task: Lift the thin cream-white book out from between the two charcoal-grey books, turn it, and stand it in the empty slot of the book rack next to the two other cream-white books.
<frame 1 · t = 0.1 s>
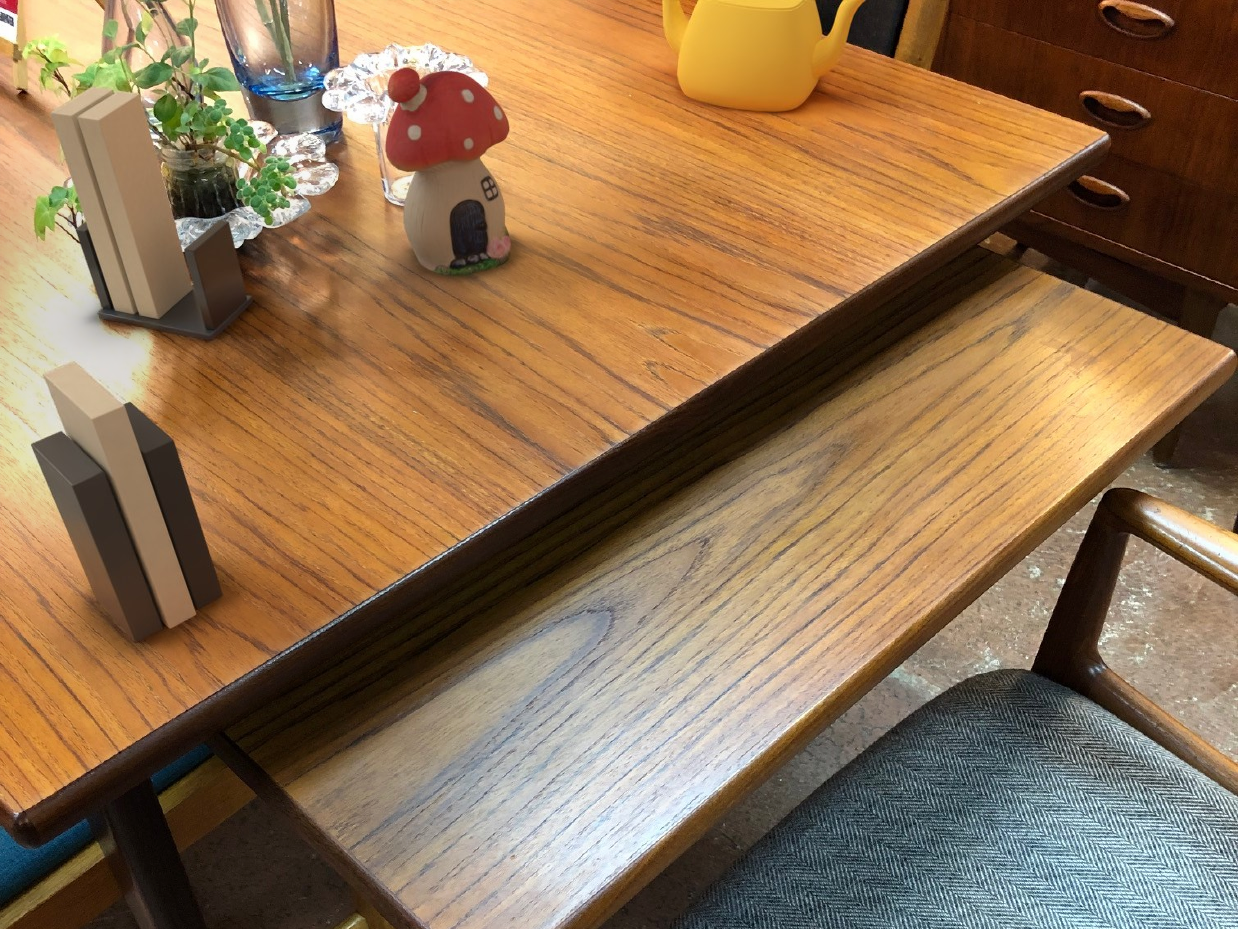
shelved white books: (178, 316, 86), resting on book rack
decorative ornament: (461, 263, 92), on the table
grey books: (162, 604, 65), on the table
book rack: (178, 316, 86), on the table
white book: (162, 604, 65), on the table
teapot: (752, 87, 117), on the table
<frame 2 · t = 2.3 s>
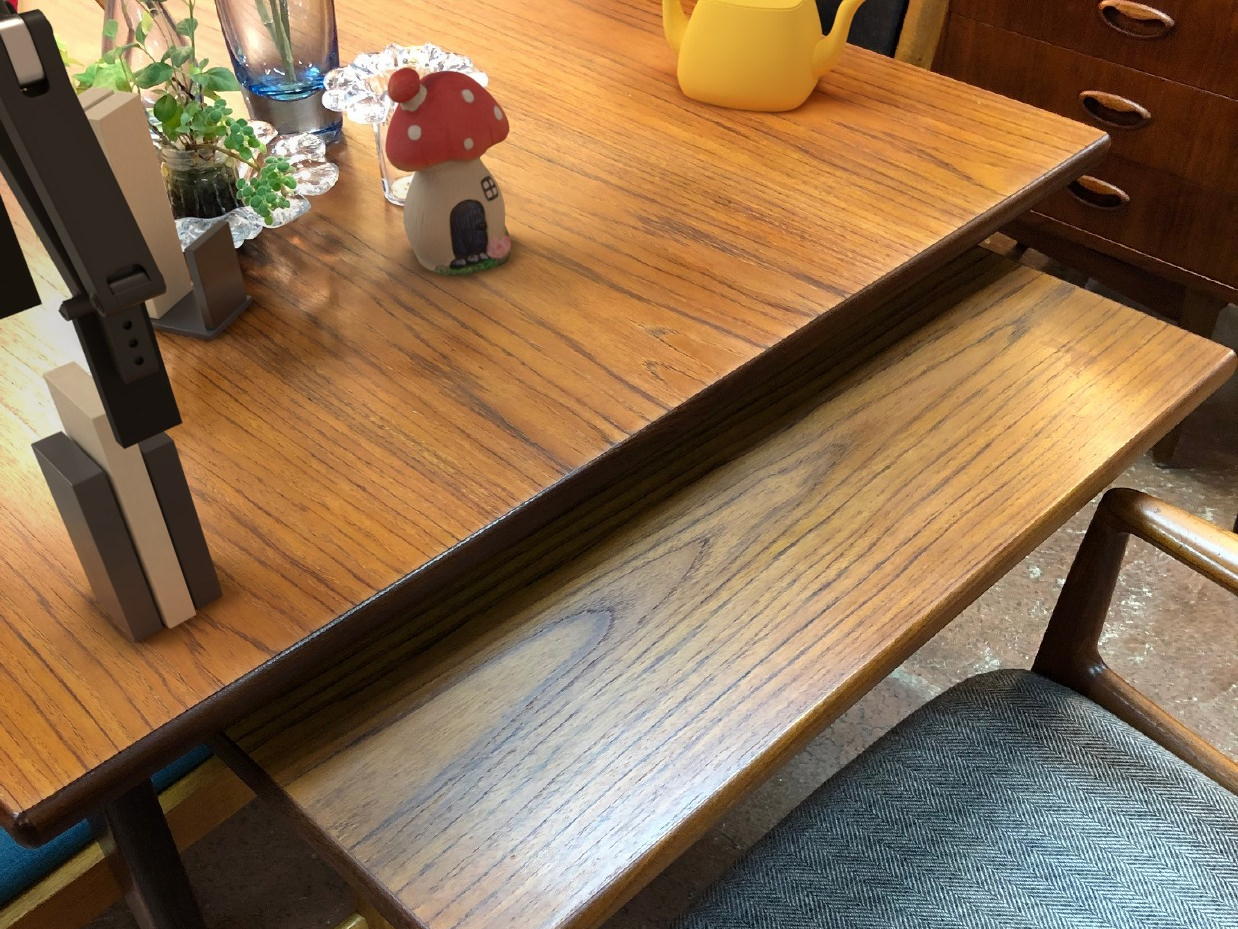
hand: (76, 368, 54), 15 cm above the table, tool pointing down, fingers open, 13 cm apart
nothing on the table moved.
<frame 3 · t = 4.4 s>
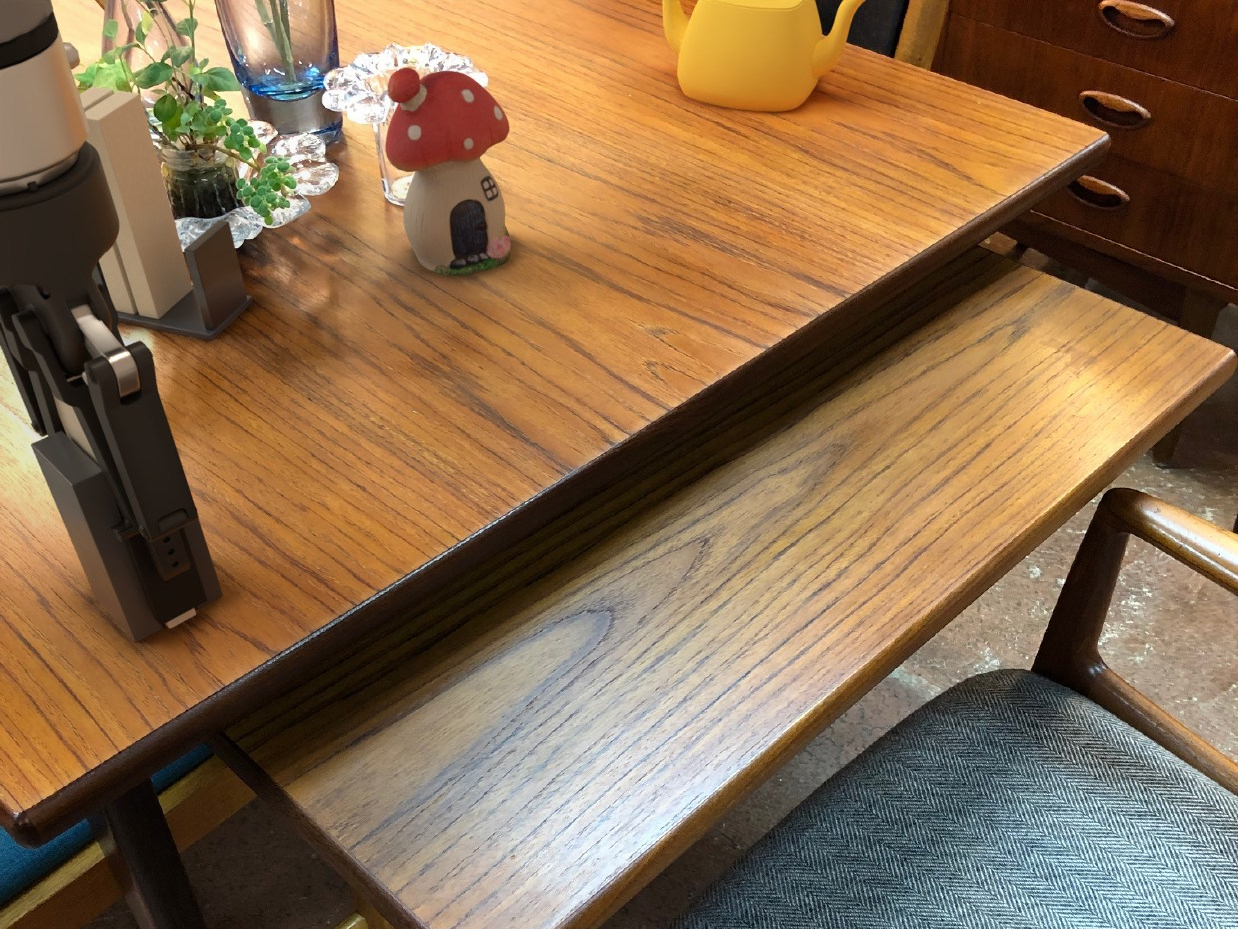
hand: (154, 581, 64), 2 cm above the table, tool pointing down, fingers closed on white book, 5 cm apart
white book: (162, 604, 65), on the table, touching gripper
everything else where it was.
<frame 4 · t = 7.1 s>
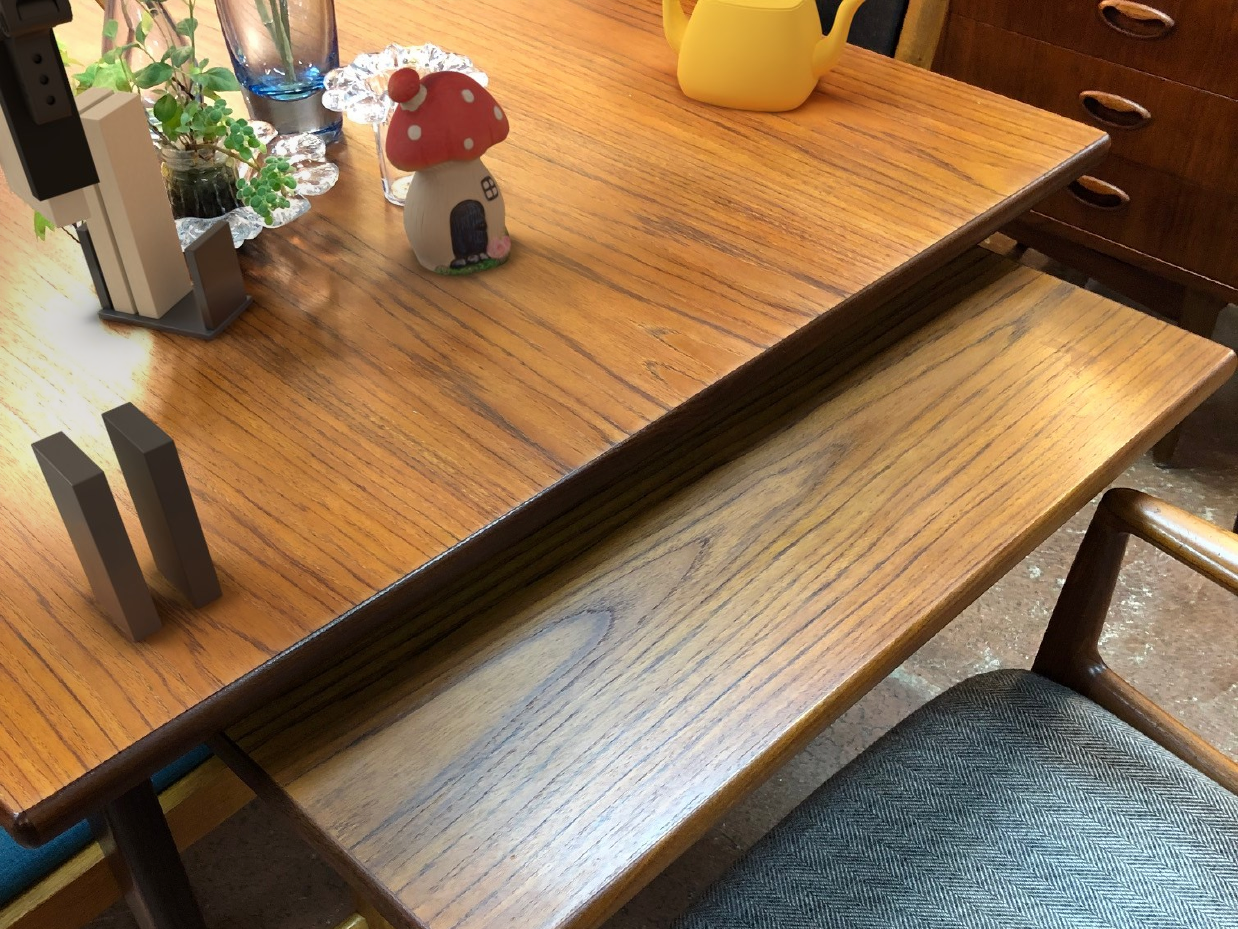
hand: (37, 165, 53), 22 cm above the table, tool pointing down, fingers closed on white book, 5 cm apart
white book: (50, 203, 54), point 21 cm above the table, touching gripper
everything else where it was.
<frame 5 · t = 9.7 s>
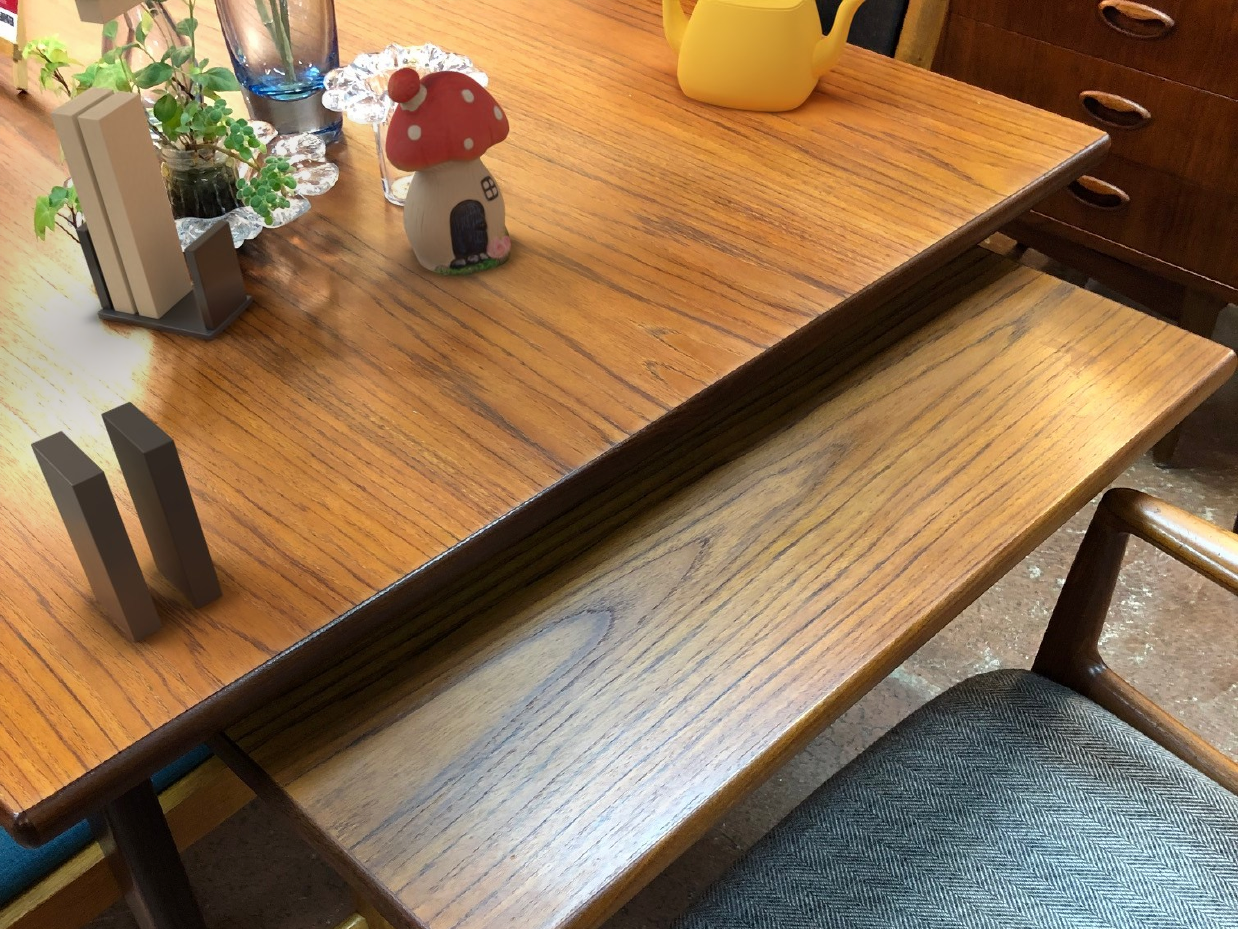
white book: (117, 9, 71), point 21 cm above the table, touching gripper
everything else where it was.
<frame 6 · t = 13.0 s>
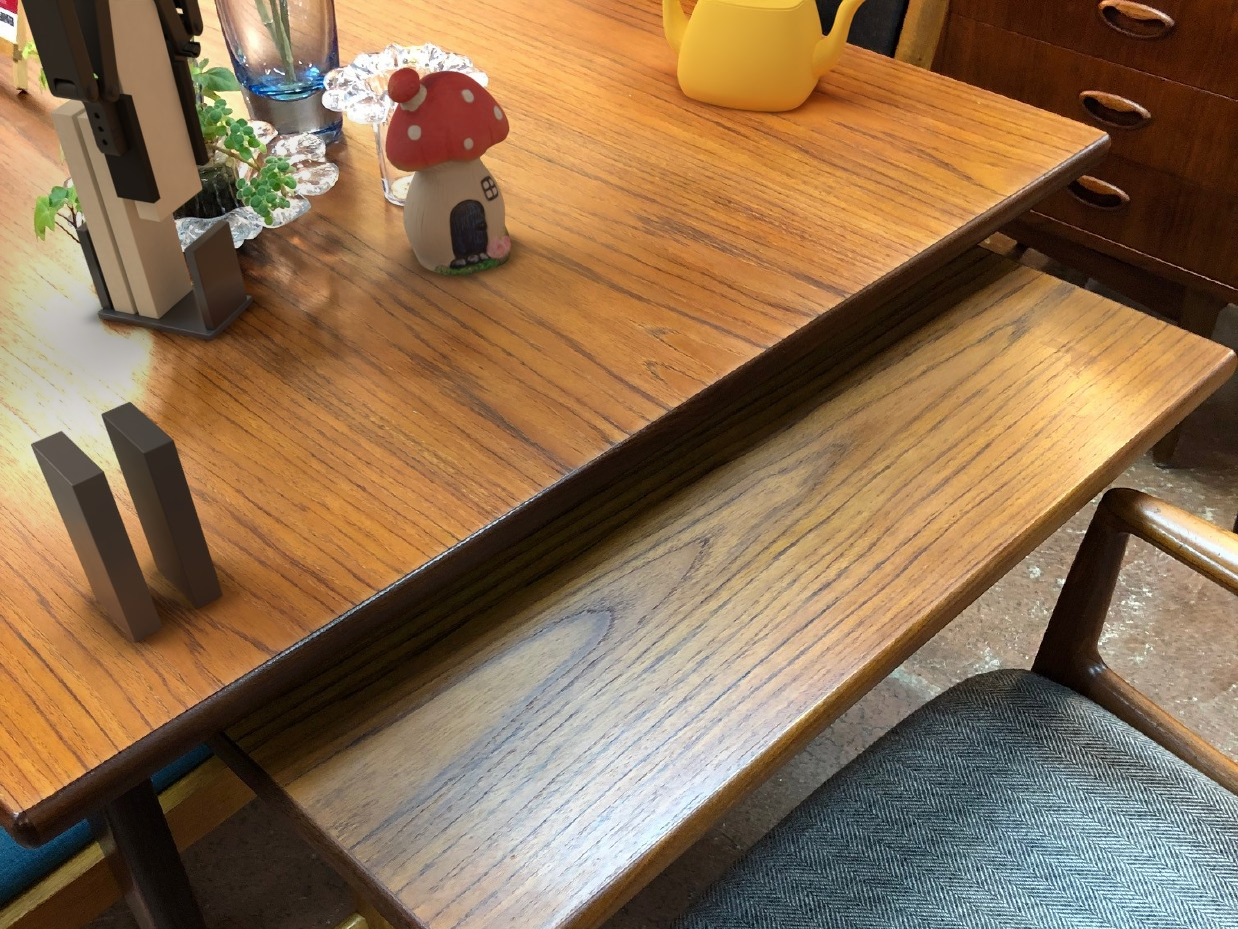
hand: (164, 178, 78), 11 cm above the table, tool pointing down, fingers closed on white book, 5 cm apart
white book: (171, 203, 79), point 9 cm above the table, touching gripper
everything else where it was.
when the fingers open (3 cm above the table, at t = 15.4 s): white book stays where it is, resting on book rack.
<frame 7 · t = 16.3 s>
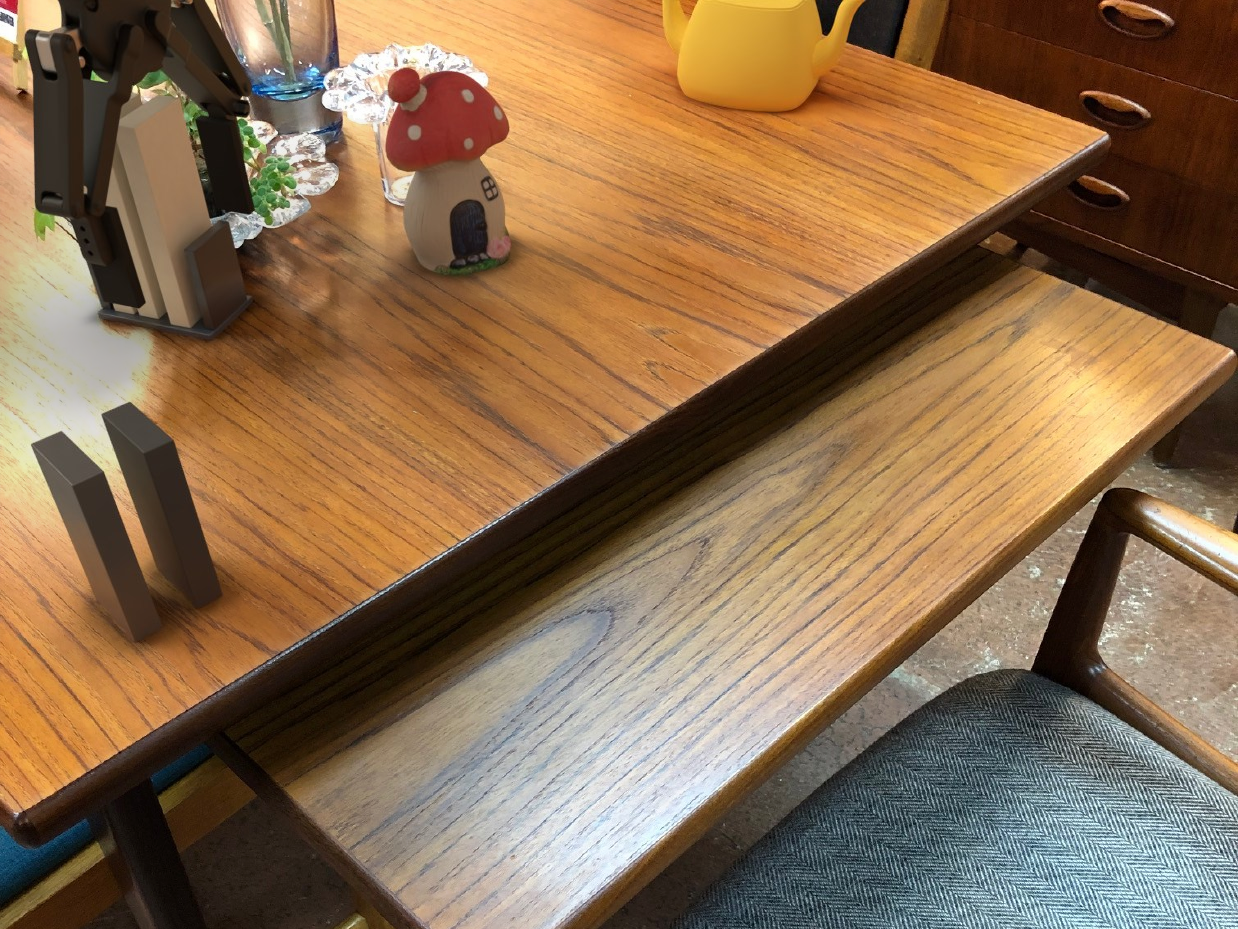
hand: (183, 254, 82), 5 cm above the table, tool pointing down, fingers open, 13 cm apart
white book: (200, 308, 85), point 1 cm above the table, touching book rack
everything else where it was.
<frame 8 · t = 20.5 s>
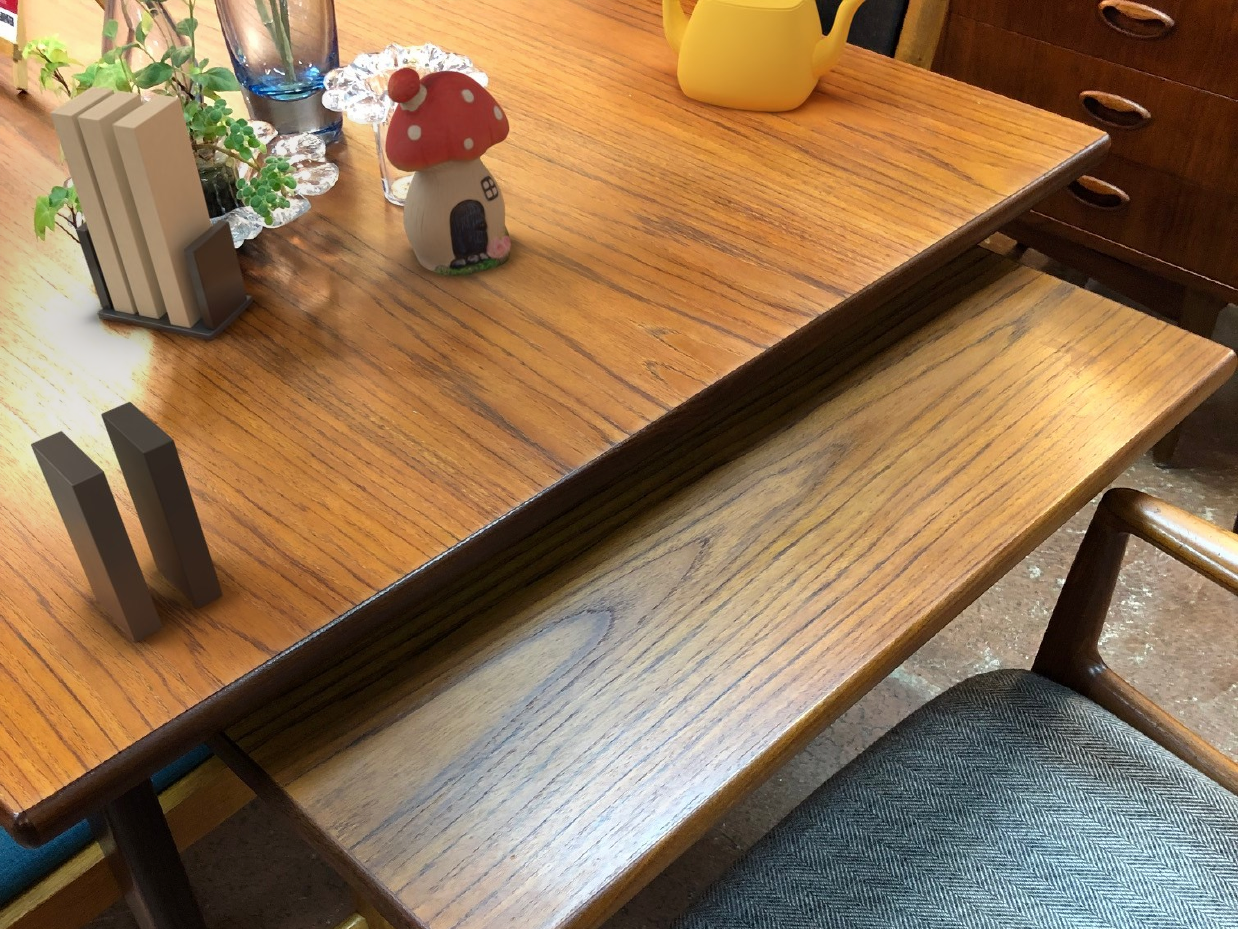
nothing on the table moved.
at the end: white book 0.0 cm from the target spot on the book rack, point 1.0 cm above the book rack's base; white book tilted 0°; the gripper is holding nothing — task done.
